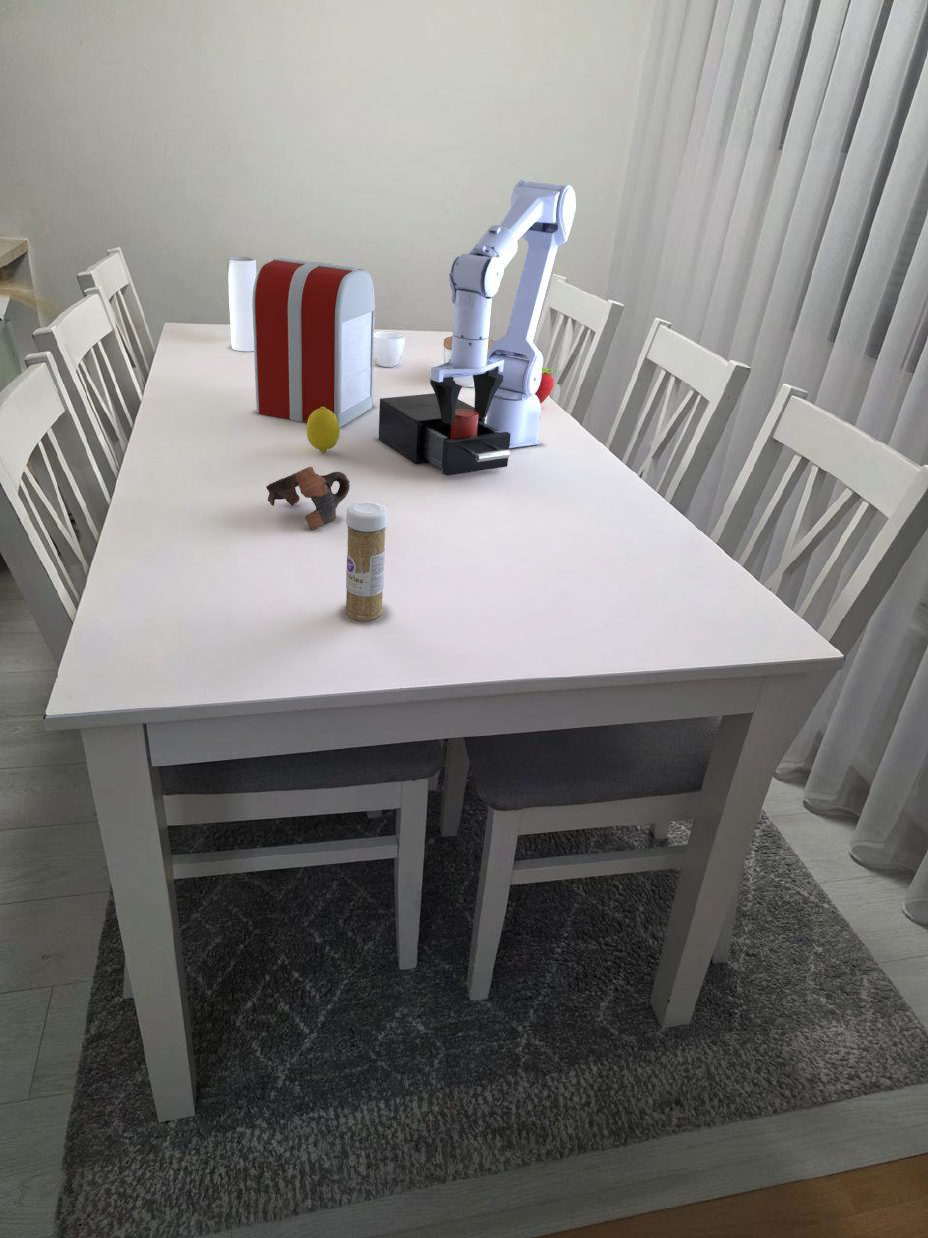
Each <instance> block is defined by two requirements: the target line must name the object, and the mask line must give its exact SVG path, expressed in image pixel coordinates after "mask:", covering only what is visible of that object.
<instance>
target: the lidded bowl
mask: <svg viewBox="0 0 928 1238" xmlns="http://www.w3.org/2000/svg"><path fill="white" fill-rule="evenodd" d="M452 340H453V335H452V336H447V337H445V338H443V364H444V363H447V362H448V359H450V358H451V353H452ZM495 341H496V340H495V339H493V338H489V337H488V349H487V354H488V351H489V348H490V345H491V344H492V343H493V342H495ZM453 381H455V383H456V384H459V385H461V386H462V387H465V388H475V387H474V380H473V375H472V376H466V377H460V378H454V380H453Z"/></svg>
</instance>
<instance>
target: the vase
mask: <svg viewBox="0 0 928 1238" xmlns="http://www.w3.org/2000/svg"><path fill="white" fill-rule="evenodd" d="M226 265H227V267H226V268H227V285H228V303H229V304H228V305H229V321H230V323H229V324H230V338H231V339H230V340H231V341H230V342H231V349H232V350H234V351H237V352H254V336H253V310H252V296H253V287H254V282H255V278H256V274H257V272H258V271H257V259H256V258H254V257H250V256H249V257H248V256H228V257H227V258H226Z"/></svg>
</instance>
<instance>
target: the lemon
mask: <svg viewBox="0 0 928 1238" xmlns="http://www.w3.org/2000/svg"><path fill="white" fill-rule="evenodd" d="M306 437H307V440H308V442H309V444H310V445H311V446H312V447H313V448H315V449H317V450H318V451H319V452H320V453H323V454H324V453H326V452H327V451H328V450H330V449H332V448H334V447H335V446H336V444H338V441H339V438H340V428H339V423H338V420H337V417H336V416H335V414H334V413H333V412H332V411H330V410H328V409H326V408H325V407H321V408H320V409H317V410H315V411H314V412H313V413H312V414H311V415H310V416H309V419H308V422H306Z"/></svg>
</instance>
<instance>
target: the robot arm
mask: <svg viewBox="0 0 928 1238" xmlns="http://www.w3.org/2000/svg"><path fill="white" fill-rule="evenodd" d="M511 192H512V193H511V196H510V208H509V210H508V211H507V213H506V215H505V216H504V217H503V219H502V221H501V222H500V224H498V225H497V224H496V225H490V227H489V228H488V229H487V230H486V231H485V232H484V234H483V235H482V236H481V237H480V238H479V240H478V241H477V242H476V244H475V245H473V247H472V248H471V249H470V251H469V252H468V253H461V254H460V255H458V256H457V257H455V258H454V260H453V262H452V264H451V267H450V273H449V275H448V276H449V277H448V278H449V279H448V280H449V281H448V282H449V286H450V289H451V303H452V304H453V305H454V311H453V313H454V314H453V326H452V336H453V340H452V353H451V358H450V359H448V362H447V363H444V362H443V363H442V364H440V365H437V366H432V367H430V377H429V384H430V386H431V388H432V390H433V393H435V395H436V397H437V400H438V404H439V408H440V414H441V419H442V422H444V423H446V424H449V425H451V424H453V422H454V418H455V409H456V403H457V399H459V395H460V393H461V391H462V389H463V386H461V385H459V384H456V383H455V381H453V380H454V378H460V377H466V376H472V375H473V380H474V387H473V388H474V406H473V407H474V409H475V411H477V412H478V414H479V415H478V416H480V417H482V418H485V419H486V424H487V425H489V426H490V427H492V428H494V429H496V430H498V431H499V433H502V432H508V433H510V434H511V437H510V446H509V449H515V448H522V447H527V446H535V445H536V446H537V445H540V441H539V440H538V439H539V430H540V422H541V413H542V407H541V404H540V401H539V399H538V397H537V396H536V395H535V393H536V391H537V390H538V388H539V385H540V381H541V375H542V367H543V365H544V364H543V363H544V357H543V354H542V353H541V351H540V350H539V349H538V347H537V346H536V345H535V343H534V342H533V341H534V337H535V333H536V330H537V326H538V322H539V319H540V316H541V315H540V314H541V312H542V307H543V304H544V300H545V295H546V292H547V288H548V285H549V281H550V277H551V274H552V269H553V266H554V262H555V258H556V255H557V252H558V251H557V250H558V248H559V246H561V245H563V244H565V243H566V242H567V241H568V238H569V236H570V235H569V234H570V232H571V228H572V226H573V220H574V217H575V213H576V206H577V205H576V192H575V191H574V188H573V186H572V185H570V184H565V185H562V184H553V183H544V182H538V181H537V182H536V181H527V180H526V179H520V180H519V181H518V182H517V183H516V184H515V185H514V187H513V189H512V191H511ZM520 238H522V239H524V240H525V241H526V242H527V244H528V245H527V247H528V248H527V250H526V251H527V252H526V255H525V258H524V259H525V260H524V264H523V266H522V270H521V275H520V279H519V282H518V286H517V290H516V294H515V298H514V302H513V305H512V309H511V312H510V316H509V321H508V325H507V328H506V333H505V335H503V336H502V337H501V338H499V339H496V340H495V342H493V343H492V344H491V345H490V348H489V351H488V354H487V349H488V338H489V336H490V335H489V334H490V324H491V314H492V313H491V311H492V301H493V297H494V296H495V295H496V294H497V293H498V291H499V289H500V285H501V280H502V279H503V276H504V270H505V269H506V268H507V266H508V265H509V263H510V262H511V261H512V259H513V257H514V256H515V255H516V254H517V251H518V241H519V239H520ZM542 364H543V365H542Z"/></svg>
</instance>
